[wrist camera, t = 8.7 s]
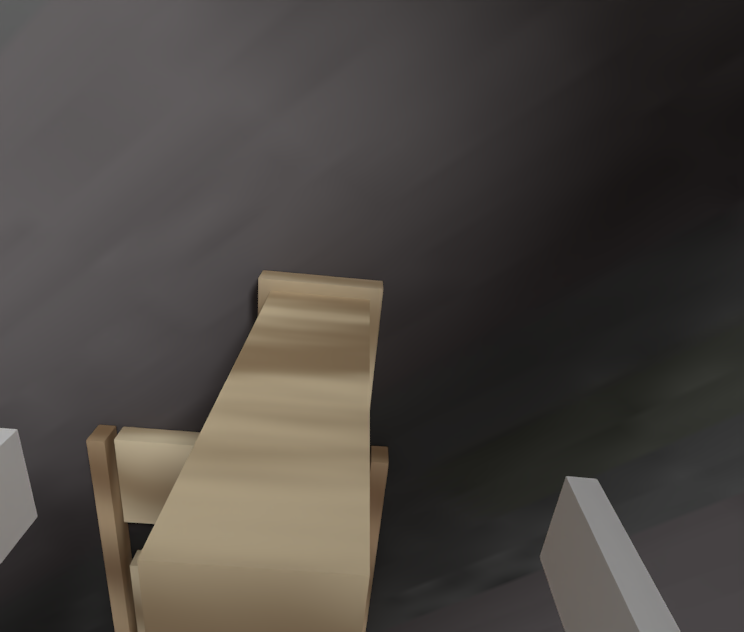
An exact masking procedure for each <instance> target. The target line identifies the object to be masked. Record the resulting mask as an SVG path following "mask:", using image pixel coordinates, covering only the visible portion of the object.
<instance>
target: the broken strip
mask: <svg viewBox="0 0 744 632" xmlns="http://www.w3.org/2000/svg"><path fill="white" fill-rule="evenodd" d="M199 434H200V432H188V431H175V430H162V429H149V428H136V427H123V428H122V429H121V431H120V432H119V433H118V435H117V436H116V437H115V439H114V444H115V452H116V460H117V468H118V476H119V484H120V492H121V500H122V508H123V517H124V522H132V523H147V524H155V523H156V521H157V519H158V517H159V515H160V513H161V511H162V509H163V507H164V505H165V503H166V501H167V499H168V497H169V495H170V493H171V491H172V489H173V487H174V485H175V483H176V481H177V478H178V476H179V474H180V472H181V470H182V468H183V466H184V464H185V462H186V460H187V458H188V456H189V454H190V452H191V450H192V448H193V446H194V444H195V442H196V440H197V438H198V436H199ZM141 551H142V550H137V552H136V554H135V556H134V558H133V560H132V562H131V564H130V573H131V581H132V589H133V597H134V605H135V614H136V622H137V630H138V632H145V625H144V617H143V608H142V599H141V591H140V582H139V573H138V565H137V559H138V557H139V555H140V553H141Z"/></svg>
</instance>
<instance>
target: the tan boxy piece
mask: <svg viewBox="0 0 744 632" xmlns="http://www.w3.org/2000/svg"><path fill="white" fill-rule="evenodd" d="M382 296H383V281H377V280H366V279H355V278H344V277H333V276H322V275H311V274H300V273H288V272H277V271H266V270H263V271H262V273H261V275H260V276H259V278H258V318H257V320H256V322H255V324H254V326H253V328H252V330H251V332H250V334H249V336H248V338H247V340H246V342H245V344H244V346H243V348H242V350H241V352H240V354H239V356H238V358H237V360H236V362H235V364H234V366H233V368H232V370H231V372H230V374H229V376H228V378H227V380H226V382H225V384H224V386H223V388H222V390H221V392H220V394H219V396H218V398H217V400H216V402H215V404H214V406H213V408H212V410H211V412H210V414H209V416H208V418H207V420H206V422H205V424H204V426H203V428H202V430H201V432H200V434H199V436H198V438H197V440H196V442H195V444H194V446H193V448H192V450H191V452H190V454H189V456H188V458H187V460H186V462H185V464H184V466H183V468H182V470H181V472H180V474H179V476H178V478H177V481H176V483H175V485H174V487H173V489H172V491H171V493H170V495H169V497H168V499H167V501H166V503H165V505H164V507H163V509H162V511H161V513H160V515H159V517H158V519H157V521H156V523H155V525H154V527H153V529H152V531H151V533H150V535H149V537H148V539H147V541H146V543H145V545H144V547H143V549H142V551H141V553H140V555H139V557H138V559H137V565H138V573H139V582H140V591H141V599H142V608H143V617H144V625H145V632H362V630H363V623H364V615H365V608H366V600H367V593H368V585H369V578H370V402H371V393H372V384H373V375H374V366H375V358H376V349H377V340H378V331H379V322H380V313H381V305H382Z"/></svg>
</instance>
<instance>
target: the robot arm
mask: <svg viewBox="0 0 744 632" xmlns="http://www.w3.org/2000/svg"><path fill="white" fill-rule="evenodd" d="M37 517H38V516H37V512H36V507H35V503H34V499H33V494H32V490H31V486H30V481H29V477H28V473H27V468H26V464H25V460H24V455H23V451H22V447H21V443H20V438H19V434H18V430H17V429H6V428H0V564H1V563H2V561H3V560H4V559H5V558H6V556H7V555H8V554H9V552H10V551H11V550H12V549H13V547H14V546H15V545H16V543H17V542H18V541H19V540H20V538H21V537H22V536H23V535H24V533H25V532H26V531H27V529H28V528H29V527H30V526H31V524H32V523H33V522H34V520H35V519H36V518H37ZM540 559H541V562H542V565H543V568H544V571H545V574H546V577H547V580H548V583H549V586H550V589H551V592H552V595H553V598H554V601H555V604H556V607H557V610H558V613H559V616H560V619H561V622H562V625H563V627H564V630H565V632H681V631H680V630H679V628H678V626H677V624H676V622H675V620H674V619H673V617H672V615H671V613H670V611H669V610H668V608H667V606H666V604H665V602H664V600H663V599H662V597H661V595H660V593H659V591H658V589H657V588H656V586H655V584H654V582H653V580H652V578H651V577H650V575H649V573H648V571H647V569H646V568H645V566H644V564H643V562H642V560H641V558H640V557H639V555H638V553H637V551H636V549H635V547H634V546H633V544H632V542H631V540H630V538H629V537H628V535H627V533H626V531H625V529H624V527H623V526H622V524H621V522H620V520H619V518H618V516H617V515H616V513H615V511H614V509H613V507H612V505H611V504H610V502H609V500H608V498H607V496H606V495H605V493H604V491H603V489H602V487H601V485H600V484H599V482H598V480H597V479H593V478H581V477H570V476H566V478H565V481H564V484H563V487H562V490H561V493H560V496H559V499H558V502H557V505H556V508H555V511H554V514H553V517H552V520H551V523H550V527H549V530H548V533H547V536H546V539H545V542H544V545H543V548H542V551H541V554H540Z"/></svg>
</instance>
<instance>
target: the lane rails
mask: <svg viewBox="0 0 744 632" xmlns="http://www.w3.org/2000/svg"><path fill="white" fill-rule="evenodd" d="M116 436H117V430H116V426H110V425H98V426H97V428H96V429H95V430H94V431H93V433H92V434H91V435H90V436H89V437H88V439H87V440H86V442H87V449H88V456H89V462H90V469H91V476H92V482H93V489H94V496H95V502H96V509H97V516H98V522H99V529H100V536H101V542H102V549H103V556H104V562H105V569H106V576H107V582H108V589H109V596H110V602H111V609H112V616H113V622H114V629H115V632H138V630H137V622H136V614H135V605H134V597H133V589H132V581H131V573H130V564H131V562H132V554H131V546H130V538H129V529H128V522H124V517H123V508H122V500H121V492H120V484H119V476H118V468H117V460H116V452H115V444H114V439H115V437H116ZM388 464H389V460H388V447H382V446H371V453H370V578H369V585H368V593H367V600H366V608H365V615H364V623H363V630H362V632H365V631H366V624H367V617H368V610H369V602H370V595H371V588H372V581H373V573H374V566H375V559H376V551H377V544H378V537H379V530H380V522H381V515H382V508H383V501H384V493H385V486H386V479H387V472H388Z"/></svg>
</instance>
